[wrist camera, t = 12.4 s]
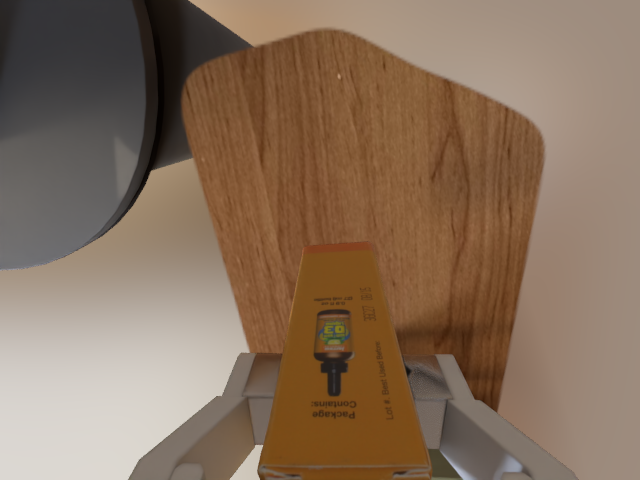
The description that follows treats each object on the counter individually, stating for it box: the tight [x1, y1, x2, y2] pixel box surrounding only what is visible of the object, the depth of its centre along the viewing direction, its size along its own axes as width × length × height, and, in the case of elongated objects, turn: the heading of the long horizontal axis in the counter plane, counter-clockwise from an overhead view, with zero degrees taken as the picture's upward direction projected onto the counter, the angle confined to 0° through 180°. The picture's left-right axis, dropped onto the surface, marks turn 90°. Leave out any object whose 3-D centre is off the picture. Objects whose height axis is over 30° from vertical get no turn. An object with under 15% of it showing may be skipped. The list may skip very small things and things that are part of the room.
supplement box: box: [257, 241, 432, 480], centre depth 11 cm, size 3×3×10 cm
